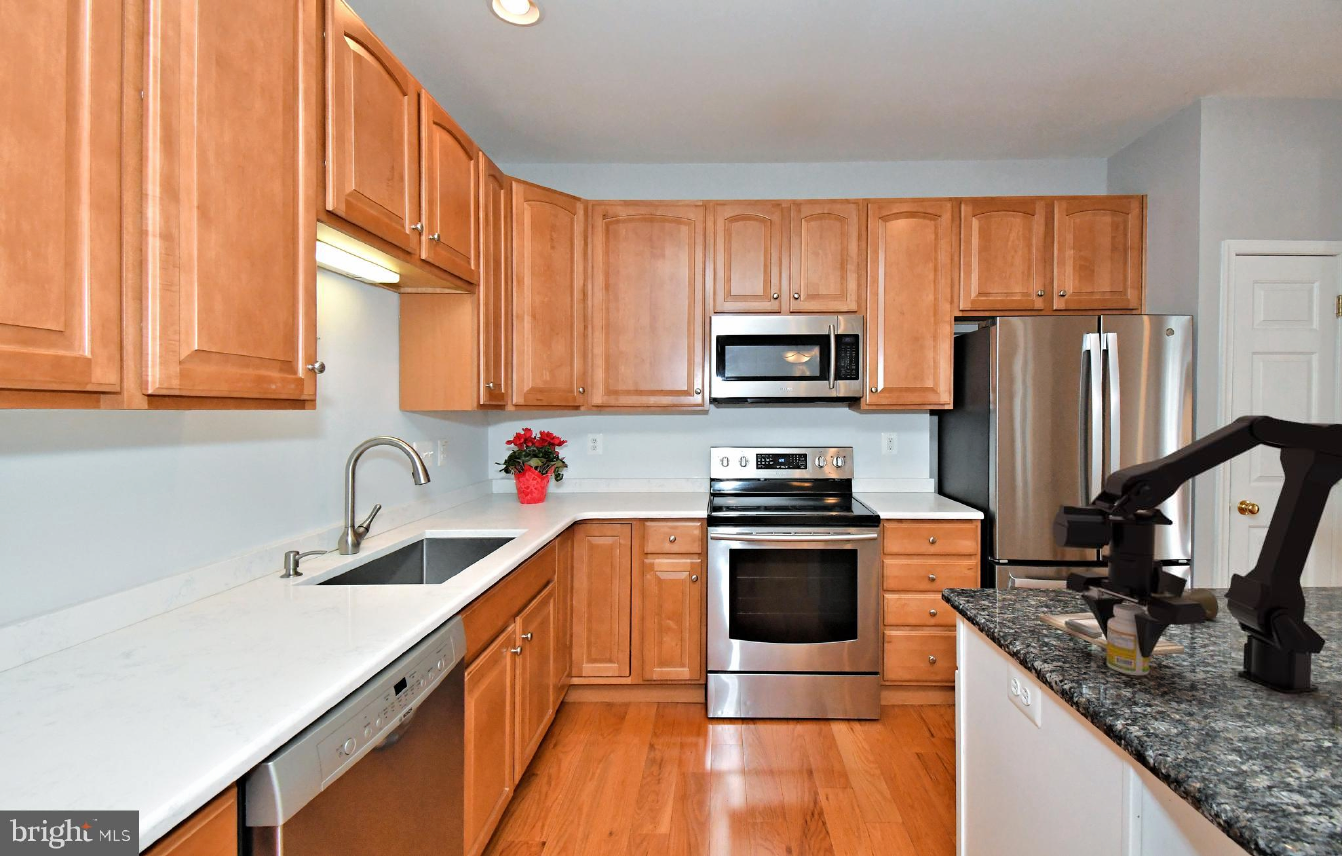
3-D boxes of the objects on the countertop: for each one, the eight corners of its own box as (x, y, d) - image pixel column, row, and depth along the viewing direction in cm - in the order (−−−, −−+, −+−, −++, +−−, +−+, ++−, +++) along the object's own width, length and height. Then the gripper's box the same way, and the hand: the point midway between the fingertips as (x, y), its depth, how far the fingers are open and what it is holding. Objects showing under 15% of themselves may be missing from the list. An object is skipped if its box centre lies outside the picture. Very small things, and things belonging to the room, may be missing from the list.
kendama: (1154, 599, 134) (1237, 629, 114) (1110, 599, 135) (1184, 629, 115) (1154, 572, 134) (1236, 597, 114) (1110, 572, 135) (1184, 597, 115)
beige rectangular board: (1184, 652, 103) (1184, 641, 102) (1124, 656, 100) (1125, 645, 100) (1091, 616, 120) (1091, 607, 120) (1038, 619, 118) (1039, 610, 118)
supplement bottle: (1134, 662, 98) (1136, 602, 98) (1157, 677, 93) (1159, 614, 92) (1098, 660, 98) (1100, 601, 98) (1119, 675, 93) (1121, 612, 93)
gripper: (1238, 564, 87) (1234, 671, 88) (1119, 537, 106) (1116, 626, 106) (1175, 567, 85) (1171, 676, 86) (1064, 539, 104) (1062, 629, 104)
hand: (1127, 649), depth 95 cm, fingers closed on supplement bottle, 5 cm apart
